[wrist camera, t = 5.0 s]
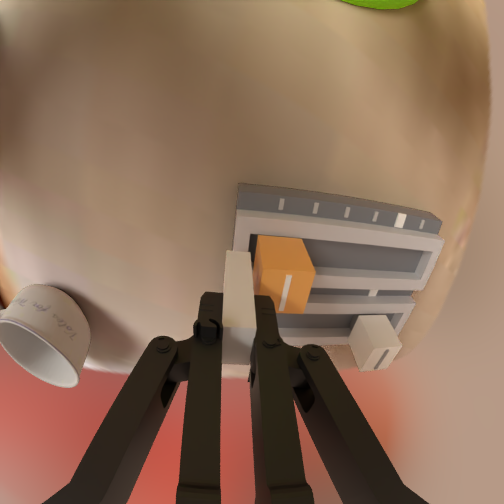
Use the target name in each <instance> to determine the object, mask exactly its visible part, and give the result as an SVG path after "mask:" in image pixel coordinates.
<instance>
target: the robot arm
mask: <svg viewBox="0 0 504 504" xmlns="http://www.w3.org/2000/svg"><path fill="white" fill-rule="evenodd" d="M193 333H194V335H193V336H192V337H191V338H189V339H187V340H183V341H177V342H176V341H175V340H174V339H172V338H170V337H168V336H158V337H156V338H154V339H153V340H152V341H151V342H150V343H149V344H148V346H147V348H146V349H145V351H144V353H143V354H142V356H141V357H140V359H139V361H138V362H137V364H136V366H135V367H134V369H133V371H132V372H131V374H130V376H129V377H128V379H127V381H126V382H125V384H124V386H123V387H122V389H121V391H120V392H119V394H118V396H117V398H116V399H115V401H114V403H113V405H112V406H111V408H110V410H109V411H108V413H107V415H106V417H105V418H104V420H103V422H102V424H101V425H100V427H99V429H98V431H97V433H96V434H95V436H94V438H93V440H92V442H91V444H90V446H89V447H88V449H87V451H86V453H85V455H84V456H83V458H82V460H81V462H80V464H79V466H78V468H77V470H76V472H75V473H74V476H73V477H72V479H71V481H70V483H69V484H67V485H66V486H65V487H63V488H62V489H61V490H60V491H58V492H57V493H56V494H54V495H53V496H52V497H50V498H49V499H48V500H46V501H45V502H44V503H42V504H126V503H127V501H128V499H129V497H130V495H131V492H132V490H133V488H134V485H135V483H136V481H137V478H138V476H139V474H140V472H141V469H142V467H143V465H144V462H145V460H146V458H147V456H148V454H149V451H150V449H151V447H152V445H153V442H154V440H155V438H156V435H157V433H158V431H159V429H160V427H161V424H162V422H163V420H164V418H165V416H166V413H167V411H168V409H169V407H170V404H171V402H172V400H173V397H174V395H175V393H176V391H177V389H178V387H179V385H180V382H181V381H187V380H188V386H187V395H186V405H185V414H184V424H183V435H182V447H181V459H180V474H179V483H178V486H177V493H176V504H221V489H220V415H221V414H220V413H221V371H222V364H239V365H249V364H250V365H251V368H250V373H249V378H248V382H250V397H251V418H252V435H253V436H252V437H253V454H254V455H253V456H254V473H255V491H256V498H255V504H314V498H313V492H312V489H311V487H310V485H308V483H307V482H306V479H305V473H304V466H303V460H302V452H301V446H300V439H299V432H298V426H297V419H296V413H295V407H294V401H295V403H296V405H297V408H298V410H299V412H300V414H301V416H302V418H303V421H304V423H305V425H306V427H307V429H308V431H309V434H310V436H311V438H312V440H313V442H314V444H315V446H316V448H317V450H318V453H319V455H320V457H321V459H322V461H323V463H324V465H325V467H326V469H327V471H328V474H329V476H330V478H331V480H332V482H333V484H334V486H335V488H336V490H337V492H338V494H339V496H340V498H341V500H342V502H343V504H429V503H427V502H426V501H424V500H423V499H422V498H421V497H420V496H418V495H417V494H416V493H414V492H413V491H412V490H410V489H409V488H408V487H406V486H405V485H404V484H403V482H402V481H401V479H400V477H399V475H398V474H397V472H396V470H395V468H394V467H393V465H392V463H391V461H390V460H389V458H388V456H387V454H386V453H385V451H384V449H383V448H382V446H381V444H380V442H379V441H378V439H377V437H376V436H375V434H374V432H373V431H372V429H371V427H370V425H369V424H368V422H367V420H366V418H365V417H364V415H363V413H362V412H361V410H360V408H359V407H358V405H357V403H356V401H355V400H354V398H353V397H352V395H351V393H350V391H349V390H348V388H347V386H346V385H345V383H344V382H343V380H342V378H341V376H340V375H339V373H338V371H337V370H336V368H335V366H334V364H333V363H332V361H331V359H330V358H329V356H328V354H327V353H326V351H325V350H324V349H323V348H322V347H320V346H319V345H315V344H307V345H304V346H303V347H302V348H297V347H293V346H290V345H288V344H286V343H285V342H284V341H283V339H282V338H281V337H280V335H279V329H278V323H277V317H276V311H275V305H274V301H273V300H272V299H271V297H270V296H266V295H254V290H253V278H252V266H251V253H250V252H241V251H229V250H227V251H226V262H225V273H224V285H223V293H216V292H205V293H204V294H203V295H202V297H201V300H200V307H199V313H198V320H196V321H195V323H194V325H193ZM293 399H294V401H293Z"/></svg>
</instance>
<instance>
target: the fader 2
mask: <svg viewBox="0 0 504 504" xmlns="http://www.w3.org/2000/svg"><path fill="white" fill-rule="evenodd" d="M349 327H350V329H351V333H350V335H349V337H348V339H347V340H348V342H349V345H350V348H351V350H352V353H353V356H354V358H355V361H356V364H357V366H358V369H359V372H364V371H373V370H381V369H387V368H388V366H389V365H390V364H391V362H392V361H393V359H394V358H395V356H396V355H397V353H398V352H399V350H400V349H401V347H402V344H401V342H400V340H399V338H398V336H397V334H396V332H395V331H394V329H393V327H392V325H391V323H390V321H389V320H388V318H387V316H386V315H377V314H354V316H353V318H352V320H351V323H350V325H349Z"/></svg>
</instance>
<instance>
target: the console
mask: <svg viewBox="0 0 504 504" xmlns="http://www.w3.org/2000/svg"><path fill="white" fill-rule="evenodd" d="M441 225H442V221H441V220H440V219H438V218H437V217H436V216H435V215H433V214H432V213H430V212H426V211H421V210H417V209H412V208H407V207H402V206H397V205H392V204H387V203H381V202H376V201H370V200H365V199H359V198H353V197H347V196H340V195H334V194H327V193H320V192H313V191H306V190H298V189H290V188H281V187H273V186H263V185H253V184H243V183H239V186H238V195H237V205H236V215H235V225H234V235H233V245H232V251H241V252H250V253H251V266H252V274H253V267H254V260H255V253H256V246H257V239H258V235H265V236H277V237H288V238H300V239H302V241H303V243H304V245H305V248H306V250H307V252H308V255H309V257H310V259H311V262H312V264H313V267H314V269H315V271H316V273H315V276H314V280H313V283H312V287H311V290H310V293H309V297H308V300H307V303H306V307H305V310H304V313H303V314H288V313H276V317H277V323H278V329H279V335H280V337H281V338H282V339H283V341H284V342H285V343H286V344H288V345H290V346H304V345H307V344H315V345H319V346H321V345H349V342H348V340H347V339H348V337H349V335H350V333H351V329H350V327H349V325H350V323H351V320H352V318H353V316H354V314H377V315H386V316H387V318H388V320H389V321H390V323H391V325H392V327H393V329H394V331H395V332H396V334H397V336H398V335H399V333H400V331H401V330H402V328H403V326H404V324H405V323H406V321H407V319H408V317H409V316H410V314H411V312H412V310H413V308H414V306H415V305H416V303H415V301H414V300H413V298H412V297H411V295H412V293H413V291H414V290H423V289H424V287H425V285H426V283H427V281H428V279H429V277H430V274H431V272H432V270H433V268H434V266H435V263H436V261H437V259H438V257H439V254H440V252H441V249H442V247H443V244H444V242H445V240H443V239H442V238H441V237H440V236H439V235H438V233H439V230H440V227H441ZM252 278H253V275H252ZM253 290H254V287H253Z"/></svg>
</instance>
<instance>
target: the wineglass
mask: <svg viewBox="0 0 504 504" xmlns="http://www.w3.org/2000/svg"><path fill="white" fill-rule="evenodd" d="M341 1H344V2H347V3H350V4H353V5H356V6H363V7H369V8H375V9H400V8H403V7H406V6H409V5H412V4H414V3H416V2H417V1H418V0H341Z"/></svg>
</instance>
